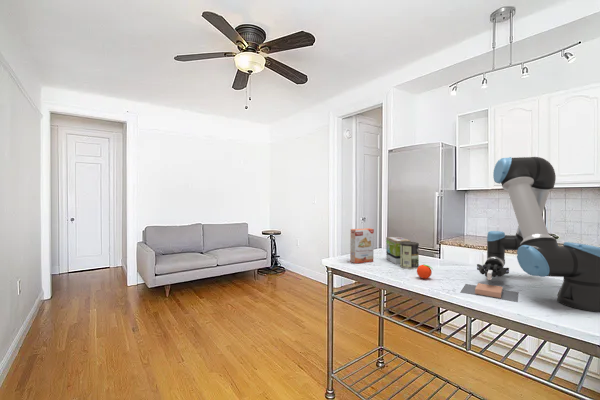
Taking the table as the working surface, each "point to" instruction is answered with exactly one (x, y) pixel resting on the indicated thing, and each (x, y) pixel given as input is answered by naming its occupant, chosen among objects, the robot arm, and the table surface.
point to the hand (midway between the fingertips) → (489, 276)
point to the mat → (505, 296)
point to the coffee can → (409, 255)
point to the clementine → (424, 271)
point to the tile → (489, 290)
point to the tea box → (394, 248)
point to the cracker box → (362, 245)
